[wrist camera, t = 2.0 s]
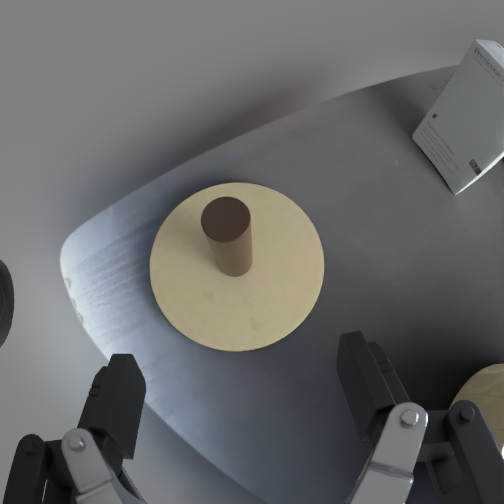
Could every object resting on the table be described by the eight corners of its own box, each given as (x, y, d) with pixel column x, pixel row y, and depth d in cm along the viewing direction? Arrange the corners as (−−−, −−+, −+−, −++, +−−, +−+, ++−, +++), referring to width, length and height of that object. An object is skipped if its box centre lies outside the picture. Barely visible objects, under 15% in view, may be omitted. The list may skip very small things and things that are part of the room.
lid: (207, 383, 21) (178, 402, 13) (129, 240, 24) (80, 192, 16) (353, 288, 23) (400, 255, 15) (261, 164, 27) (262, 94, 18)
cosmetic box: (409, 138, 28) (467, 34, 14) (438, 126, 29) (493, 36, 14) (456, 200, 25) (544, 112, 11) (481, 181, 26) (556, 103, 12)
